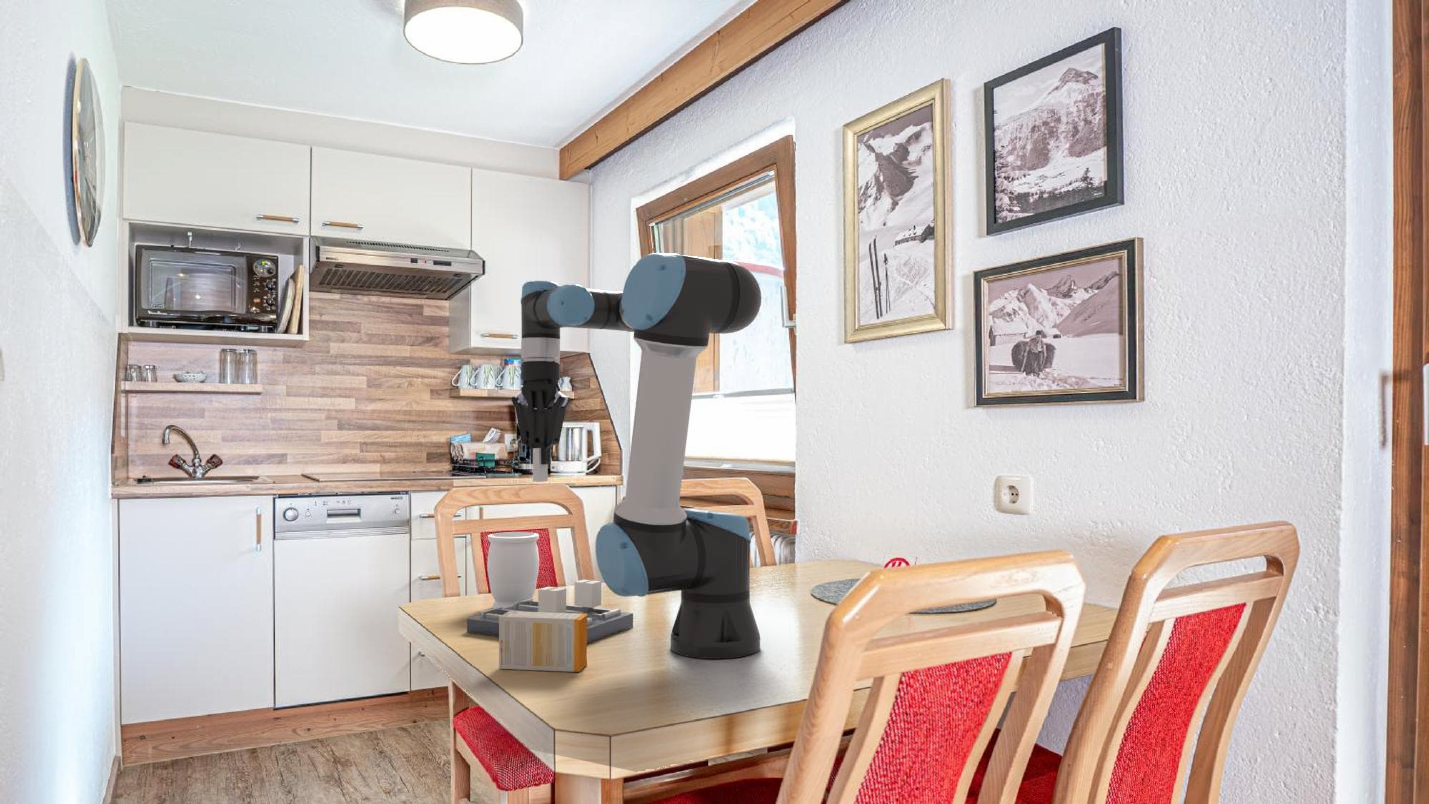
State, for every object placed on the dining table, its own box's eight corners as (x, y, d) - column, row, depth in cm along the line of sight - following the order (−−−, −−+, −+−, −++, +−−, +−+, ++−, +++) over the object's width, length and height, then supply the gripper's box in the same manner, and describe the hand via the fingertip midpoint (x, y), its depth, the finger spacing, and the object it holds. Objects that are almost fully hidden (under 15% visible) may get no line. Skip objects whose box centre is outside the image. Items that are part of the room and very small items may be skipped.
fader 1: (566, 620, 166) (566, 587, 166) (556, 623, 163) (556, 590, 163) (548, 617, 167) (548, 586, 167) (538, 620, 165) (538, 588, 165)
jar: (485, 604, 194) (485, 532, 194) (535, 601, 197) (536, 530, 197) (488, 614, 184) (489, 538, 184) (541, 611, 187) (542, 536, 187)
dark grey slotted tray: (633, 626, 173) (633, 607, 173) (574, 647, 157) (574, 627, 157) (530, 614, 184) (530, 596, 185) (466, 632, 169) (467, 613, 169)
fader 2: (601, 611, 173) (601, 580, 173) (592, 614, 170) (592, 583, 170) (583, 609, 175) (583, 578, 175) (574, 612, 172) (574, 581, 172)
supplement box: (588, 612, 147) (509, 609, 149) (579, 619, 142) (497, 615, 144) (588, 665, 147) (508, 661, 149) (579, 674, 142) (497, 669, 144)
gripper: (579, 361, 183) (578, 481, 183) (526, 362, 189) (526, 479, 189) (555, 359, 177) (555, 483, 176) (502, 360, 183) (501, 481, 182)
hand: (540, 481), depth 183 cm, fingers closed
